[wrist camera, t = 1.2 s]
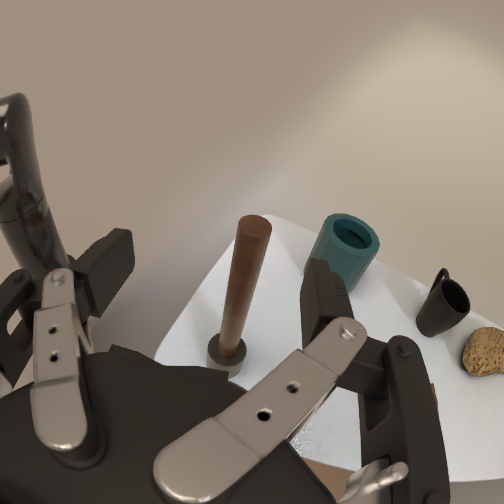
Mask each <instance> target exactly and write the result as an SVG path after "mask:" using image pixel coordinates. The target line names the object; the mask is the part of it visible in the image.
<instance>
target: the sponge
mask: <svg viewBox="0 0 504 504" xmlns="http://www.w3.org/2000/svg"><path fill="white" fill-rule="evenodd" d="M462 361H463V363H464V366H465V369H466V370H468V372H469V374H471V375H473V376H477V377H480V376H486V375H490V374H493V373H494V372H501V373H503V374H504V331H501V330H499V329H497V328H494V327H486V328H485V327H483V328H479V329H477V330H475V331H474V332H473V333H472V334H471V336H470V338H469V339H468V342H467V344H466V347H465V349H464V351H463V357H462Z"/></svg>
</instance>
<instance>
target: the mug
mask: <svg viewBox="0 0 504 504" xmlns="http://www.w3.org/2000/svg"><path fill="white" fill-rule="evenodd" d="M443 276H444V279H443V280H442V278H443ZM469 311H470V302H469V298H468V296H467V294H466V292H465V291H464V290H463V288H462V287H461V286H460V285H459V284H458V283H457V282H455V281H453V280H451V279H450V278H449V273H448V271H447V269H445V268H442V269H441V270H440V272H439V273H438V275H437V277H436V279H435V281H434V284H433V286H432V288H431V290H430V293H429V295H428V297H427V299H426V301H425V303H424V304H423V306H422V308H421V310H420V312H419V314H418V316H417V318H416V324H417V327H418V329H419V331H420V332H421V333H422V334H423V335H425V336H427V337H433V336H435V335H437V334H440V333H442V332H444V331H446V330H448V329H450V328H452V327H453V326H455V325H456V324H458V323H459V322H460V321H461V320H462V319H463V318H464V317H465V316H466V315H467V314H468V313H469Z"/></svg>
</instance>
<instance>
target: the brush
mask: <svg viewBox="0 0 504 504" xmlns="http://www.w3.org/2000/svg"><path fill="white" fill-rule="evenodd" d="M271 232H272V226H271V224H270V222H269V221H268V220H267V219H265V218H263V217H261V216H258V215H247V216H244V217H243V218H241V219H240V220H239V223H238V228H237V234H236V240H235V246H234V251H233V257H232V263H231V269H230V275H229V281H228V287H227V293H226V300H225V306H224V312H223V318H222V325H221V331H220V333H219V334H216V335H215V336H213V337H212V338H211V340H210V341H209V344H208V352H207V367H208V368H210V369H216V370H222V371H228V372H229V378H232V377H234V376H235V375H236V374H237V373H238V372H239V371H240V368H241V366H242V363H243V361H244V358H245V356H246V345H245V343H244V341H243V340H242V339H241V338H240V337H241V334H242V331H243V327H244V324H245V321H246V317H247V314H248V311H249V307H250V304H251V300H252V297H253V294H254V290H255V287H256V283H257V280H258V277H259V273H260V270H261V266H262V263H263V260H264V256H265V253H266V249H267V246H268V242H269V239H270V235H271Z"/></svg>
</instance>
